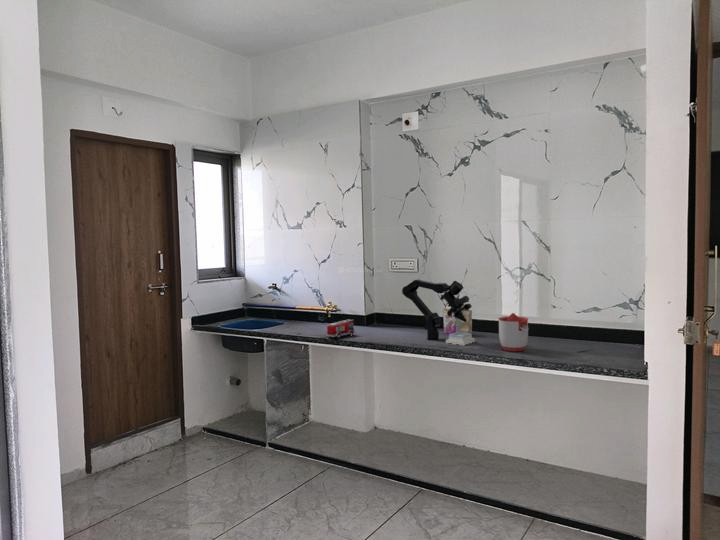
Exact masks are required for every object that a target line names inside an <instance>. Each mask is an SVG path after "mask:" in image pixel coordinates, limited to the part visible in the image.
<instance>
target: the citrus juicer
mask: <svg viewBox="0 0 720 540" xmlns="http://www.w3.org/2000/svg"><path fill="white" fill-rule="evenodd" d="M498 338H499V342H500V345H501V348H502V350H503V351H506V352H507V351H509V352H512V351H513V353H515V352H521V351H525V350H526V347H527V344H528V338H529V318H528V317H524V316H517V315H516V314H515V313H514V312H512V313H510V315H509V316H501V317H498Z"/></svg>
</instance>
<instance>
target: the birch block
mask: <svg viewBox="0 0 720 540" xmlns="http://www.w3.org/2000/svg"><path fill="white" fill-rule="evenodd" d="M462 314H463V316H464V317H465V319H466V320H467V321H466V322H464V321H462V320H461V332H462V333H470V334H471V333H472V332H473V321H472V320H473V317H472V316H473V312H472V310H470V309H469V310H462Z"/></svg>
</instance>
